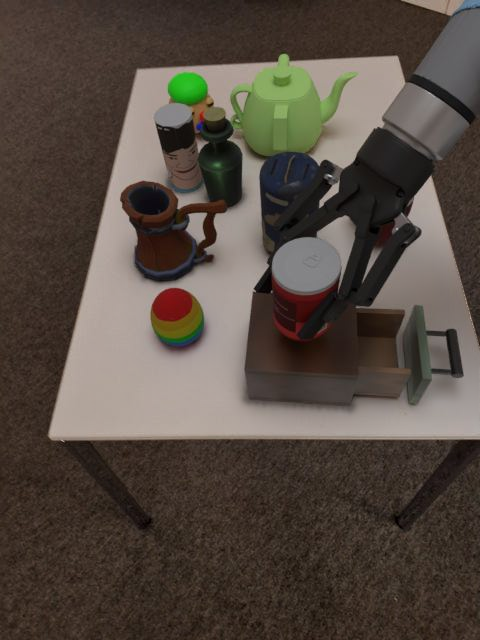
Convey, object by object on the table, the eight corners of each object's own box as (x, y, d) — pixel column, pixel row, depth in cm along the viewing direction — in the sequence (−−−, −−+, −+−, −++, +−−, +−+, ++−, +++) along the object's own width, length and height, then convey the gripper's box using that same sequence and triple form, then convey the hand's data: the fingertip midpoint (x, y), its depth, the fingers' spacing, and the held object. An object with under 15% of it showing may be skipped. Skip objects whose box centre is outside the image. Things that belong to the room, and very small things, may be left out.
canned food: (341, 302, 63) (351, 246, 54) (320, 351, 60) (327, 301, 50) (287, 285, 65) (287, 228, 56) (263, 331, 62) (260, 279, 53)
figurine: (165, 128, 108) (153, 76, 98) (200, 110, 110) (192, 58, 100) (192, 153, 102) (182, 100, 92) (229, 133, 105) (223, 81, 95)
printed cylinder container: (166, 191, 96) (149, 125, 84) (174, 169, 100) (158, 102, 87) (199, 193, 95) (187, 126, 83) (206, 170, 99) (195, 103, 86)
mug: (239, 238, 88) (231, 173, 76) (228, 289, 82) (218, 227, 70) (145, 231, 91) (123, 167, 78) (127, 280, 85) (101, 219, 72)
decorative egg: (206, 308, 80) (198, 270, 72) (207, 351, 76) (197, 316, 67) (158, 312, 81) (143, 275, 72) (155, 355, 76) (140, 321, 68)
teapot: (222, 136, 105) (214, 72, 92) (290, 97, 110) (291, 32, 98) (279, 179, 96) (279, 114, 84) (350, 134, 102) (359, 67, 90)
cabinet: (348, 331, 76) (356, 295, 68) (350, 405, 69) (358, 376, 61) (255, 326, 78) (252, 291, 70) (248, 399, 71) (244, 369, 63)
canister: (325, 235, 87) (334, 152, 72) (301, 272, 83) (305, 192, 68) (278, 218, 90) (277, 135, 75) (253, 253, 86) (246, 172, 71)
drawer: (444, 335, 73) (460, 306, 67) (454, 406, 67) (473, 381, 61) (321, 330, 75) (325, 301, 69) (320, 397, 69) (324, 373, 63)
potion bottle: (223, 176, 98) (212, 93, 83) (254, 193, 94) (249, 109, 79) (196, 199, 95) (179, 117, 79) (227, 217, 91) (216, 135, 76)
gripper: (500, 207, 47) (354, 372, 56) (354, 110, 57) (251, 264, 66) (481, 190, 41) (322, 377, 50) (323, 85, 51) (214, 258, 60)
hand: (282, 313), depth 58 cm, fingers closed on canned food, 8 cm apart
